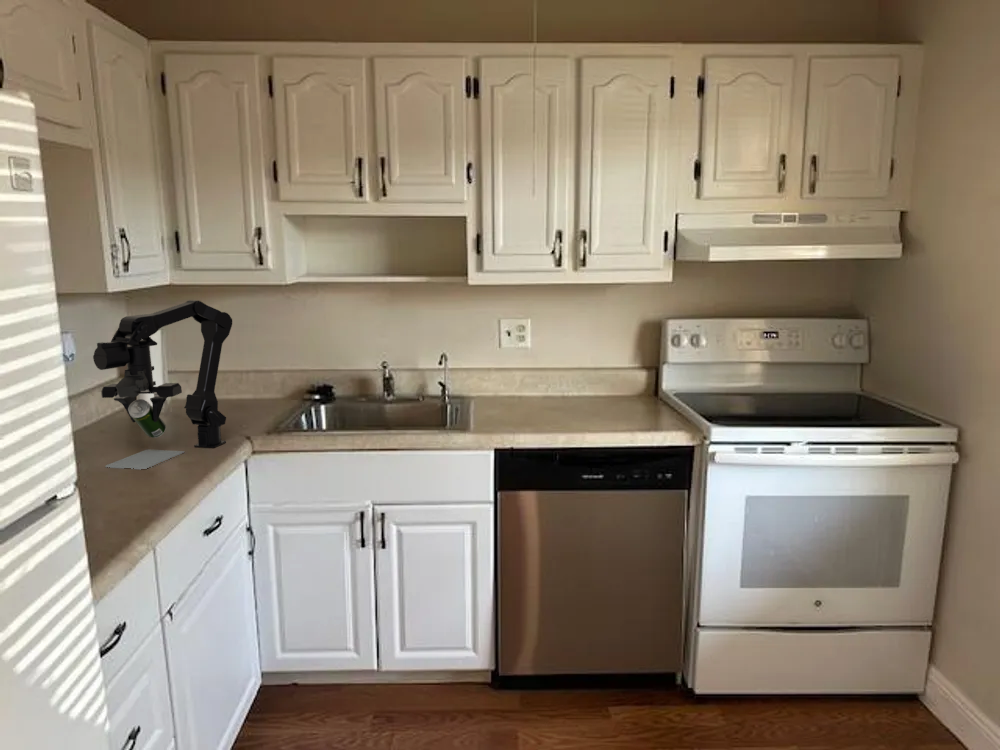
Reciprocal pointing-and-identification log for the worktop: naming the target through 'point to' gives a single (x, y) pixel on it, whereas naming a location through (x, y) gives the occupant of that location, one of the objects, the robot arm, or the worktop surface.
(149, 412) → the beer can
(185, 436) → the worktop surface
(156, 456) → the grey mat
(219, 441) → the robot arm
